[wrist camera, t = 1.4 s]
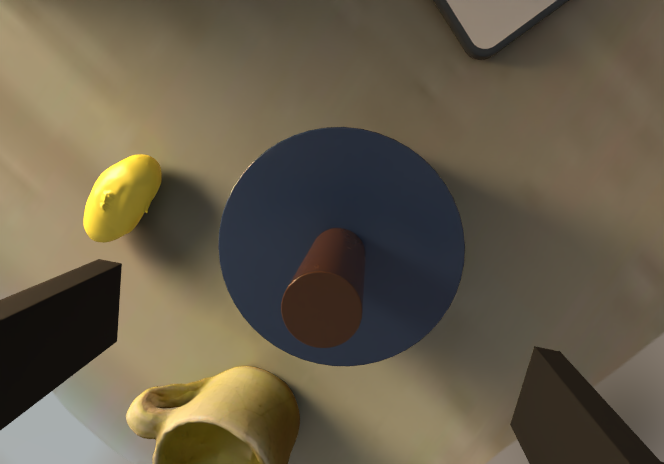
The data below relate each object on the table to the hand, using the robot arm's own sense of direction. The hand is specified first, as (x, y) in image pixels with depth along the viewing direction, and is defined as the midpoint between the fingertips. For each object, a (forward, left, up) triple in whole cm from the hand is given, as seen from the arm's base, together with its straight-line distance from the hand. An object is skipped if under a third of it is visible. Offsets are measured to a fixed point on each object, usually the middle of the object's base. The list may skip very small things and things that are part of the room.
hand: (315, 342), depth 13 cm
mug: (+17, -7, -19) cm, 27 cm away
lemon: (+1, -17, -19) cm, 26 cm away
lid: (0, 0, -11) cm, 11 cm away
